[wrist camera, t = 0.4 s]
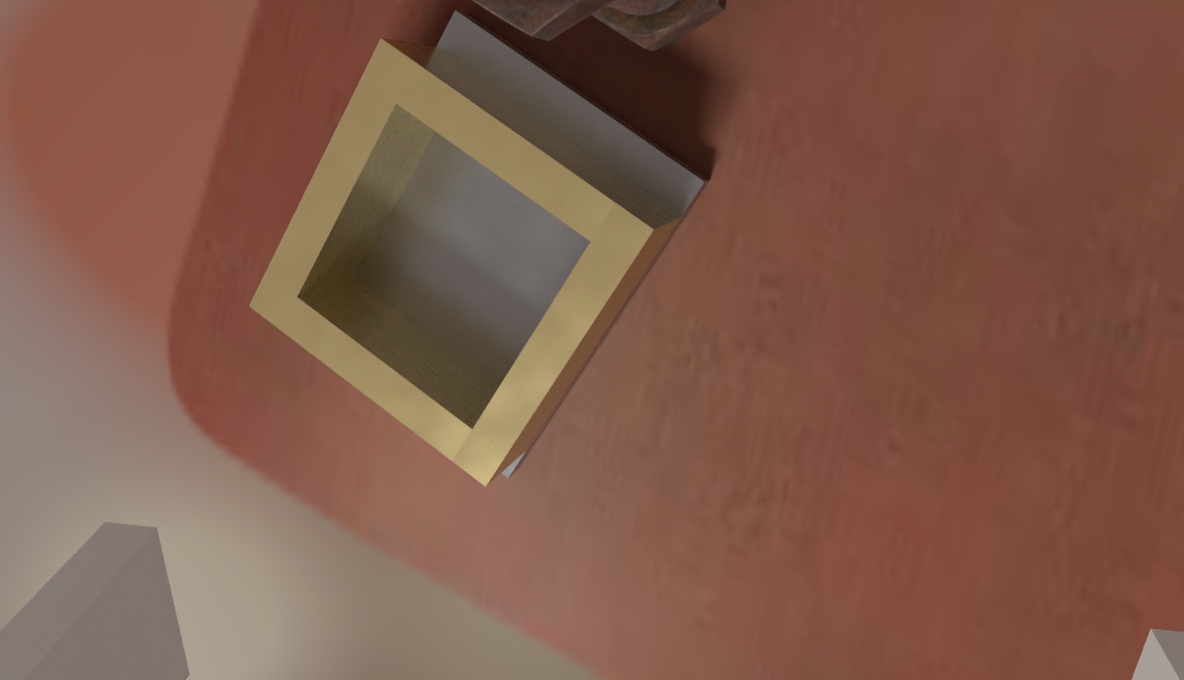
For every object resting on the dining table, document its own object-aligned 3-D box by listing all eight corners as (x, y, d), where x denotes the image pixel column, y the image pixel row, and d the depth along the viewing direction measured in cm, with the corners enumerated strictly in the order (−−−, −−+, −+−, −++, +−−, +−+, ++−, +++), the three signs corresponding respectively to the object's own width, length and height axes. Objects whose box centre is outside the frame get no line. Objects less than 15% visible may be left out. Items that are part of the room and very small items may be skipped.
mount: (466, 13, 35) (401, -4, 30) (709, 179, 34) (680, 189, 29) (310, 313, 40) (233, 338, 35) (517, 469, 39) (465, 517, 34)
